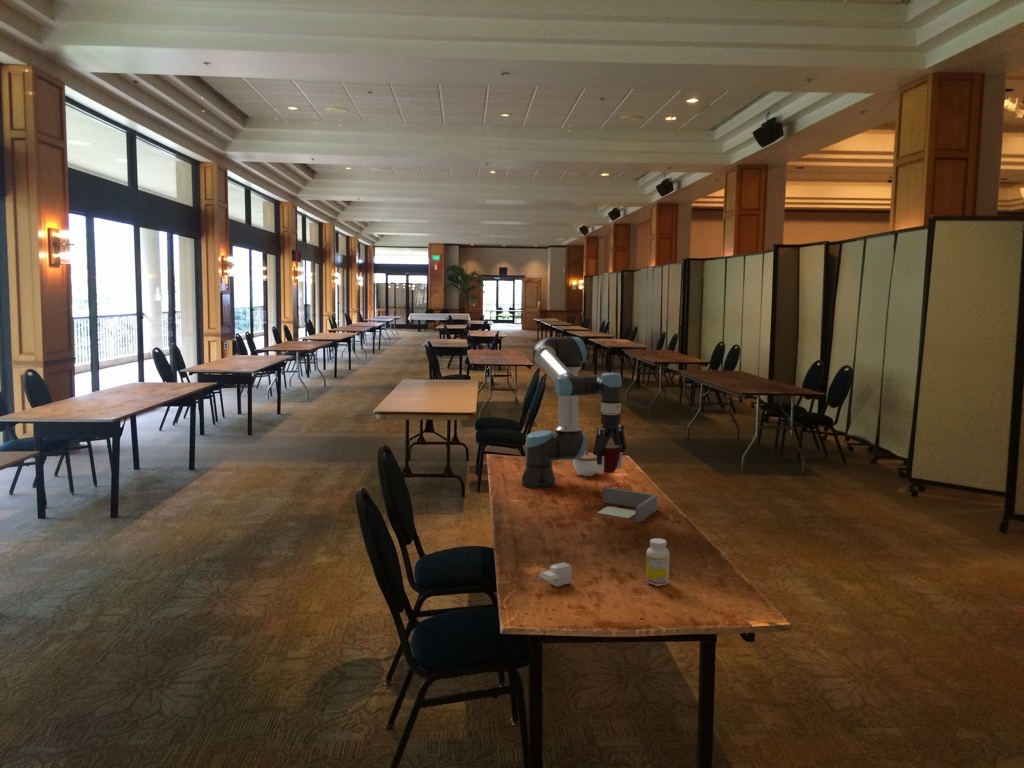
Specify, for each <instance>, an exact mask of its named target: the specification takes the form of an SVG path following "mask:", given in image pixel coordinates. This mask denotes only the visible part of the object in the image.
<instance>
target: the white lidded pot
mask: <svg viewBox="0 0 1024 768" xmlns="http://www.w3.org/2000/svg"><path fill="white" fill-rule="evenodd" d="M572 463H573V467H574V471H576V473H577V474H578V475H579V476H580V475H583V476H582V477H593V476H594V475H595V474H596V473H598V472H597V456H596V455H594V454H593V452H589V451H588V450H586V451H585V454H584V455H583V457H581V458H579V459H573V460H572ZM592 475H593V476H592Z"/></svg>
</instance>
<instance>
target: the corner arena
mask: <svg viewBox="0 0 1024 768" xmlns="http://www.w3.org/2000/svg"><path fill="white" fill-rule="evenodd" d="M602 491H603V493H602V494H603V495H602V498H603V499H602V500H603V501H602V503H604V504H612V505H617V506H622V507H628V508H629V507H630V508H635V510H634V509H627V508H620V507H614V506H605V507H603V508H602V509H600V510H599V511H597V514H600V515H607V516H612V517H617V518H622V519H630V518H632V517H633V516H634V523H636V524H640V523H641V522H643V521H644V520H645V519H647V518H648V517H650V516H652V514H654V513H655V512H657V511H658V494H654V493H648V492H640V491H633V490H627V489H620V488H614V487H613V488H612V487H607V486H604V487H603V490H602ZM656 510H657V511H656ZM649 515H650V516H649Z"/></svg>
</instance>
